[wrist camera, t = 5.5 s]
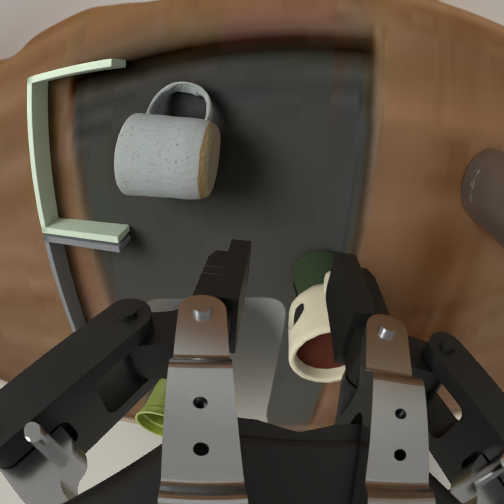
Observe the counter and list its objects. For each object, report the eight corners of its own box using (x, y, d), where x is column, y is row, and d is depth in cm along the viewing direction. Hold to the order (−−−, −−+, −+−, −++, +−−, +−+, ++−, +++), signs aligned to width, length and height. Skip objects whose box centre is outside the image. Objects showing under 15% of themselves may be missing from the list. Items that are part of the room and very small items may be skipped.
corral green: (126, 60, 24) (111, 58, 21) (129, 231, 34) (118, 243, 31) (43, 76, 24) (27, 77, 22) (55, 222, 34) (42, 232, 32)
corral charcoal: (130, 234, 34) (118, 246, 31) (148, 346, 44) (142, 360, 41) (56, 225, 34) (43, 235, 32) (85, 331, 44) (77, 343, 42)
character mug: (286, 228, 32) (287, 309, 21) (352, 226, 31) (386, 304, 20) (289, 308, 37) (289, 396, 26) (345, 306, 36) (363, 391, 25)
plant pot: (206, 383, 47) (196, 426, 40) (193, 406, 52) (183, 444, 44) (154, 363, 46) (137, 405, 38) (147, 389, 51) (133, 426, 43)
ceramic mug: (220, 188, 30) (202, 216, 24) (146, 181, 30) (111, 206, 24) (230, 84, 25) (213, 79, 18) (149, 82, 25) (111, 81, 19)
